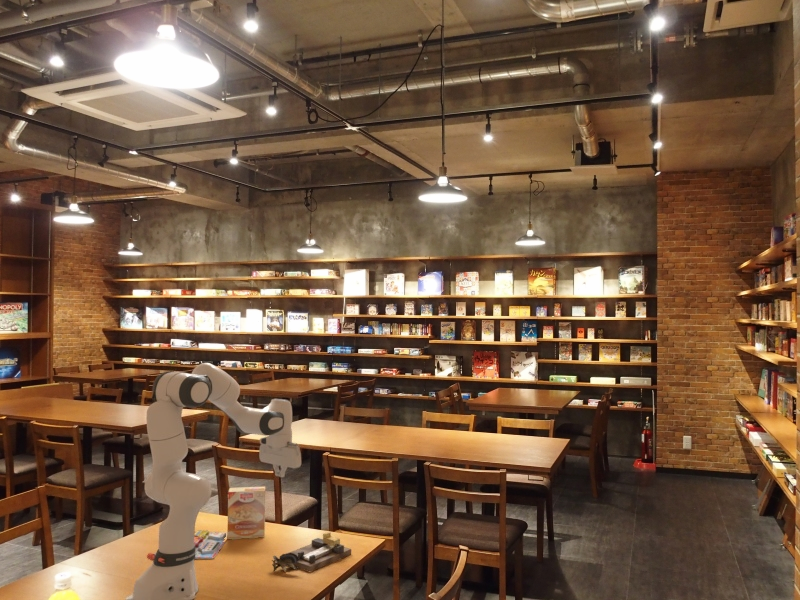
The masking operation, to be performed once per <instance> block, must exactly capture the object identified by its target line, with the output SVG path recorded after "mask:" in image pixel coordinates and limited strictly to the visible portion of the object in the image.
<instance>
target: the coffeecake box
mask: <svg viewBox="0 0 800 600" xmlns="http://www.w3.org/2000/svg"><path fill="white" fill-rule="evenodd" d="M227 498H228V499H227V531H226V532H227V539H232V540H242V539H241V538H249V539H259V538H258V537H264V538H265V532H266V530H265V529H266V527H265V526H266V486H249V487H248V486H246V487H245V486H243V487H242V486H240V487H229V489H228V496H227Z"/></svg>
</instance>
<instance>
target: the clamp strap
mask: <svg viewBox="0 0 800 600" xmlns="http://www.w3.org/2000/svg"><path fill="white" fill-rule="evenodd" d="M333 551H334V546H332V545H329V544H328V545H326V546H324V547H321V548H319V549H317V550H315V551H312V552H310V553H308V554H306V555H303V556H302V559H303V560H306V561H309V556H311V555H315V559H317V558H319V557H322V556H324V555H326V554H328V553H330V552H333Z"/></svg>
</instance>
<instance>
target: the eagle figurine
mask: <svg viewBox="0 0 800 600" xmlns="http://www.w3.org/2000/svg"><path fill="white" fill-rule="evenodd" d="M272 558H273V559H272V560H271V562H272V564H271V566H272V567H273V572H276V570H277V569H279V568H281V569H282V570H283V572H284V574H286V573H287V568H286V567H289V568H292V569H294V570H297V569H298V570H299V568H297V567H295V566H294V565H293V564H292V563H294V564H295V563H298V561H299V559H298V558H299V557H298V556H297V555H295V554H294V553H289V552H286V553H282V554H281V555H280V556H279V557H277V555H273V556H272Z"/></svg>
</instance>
